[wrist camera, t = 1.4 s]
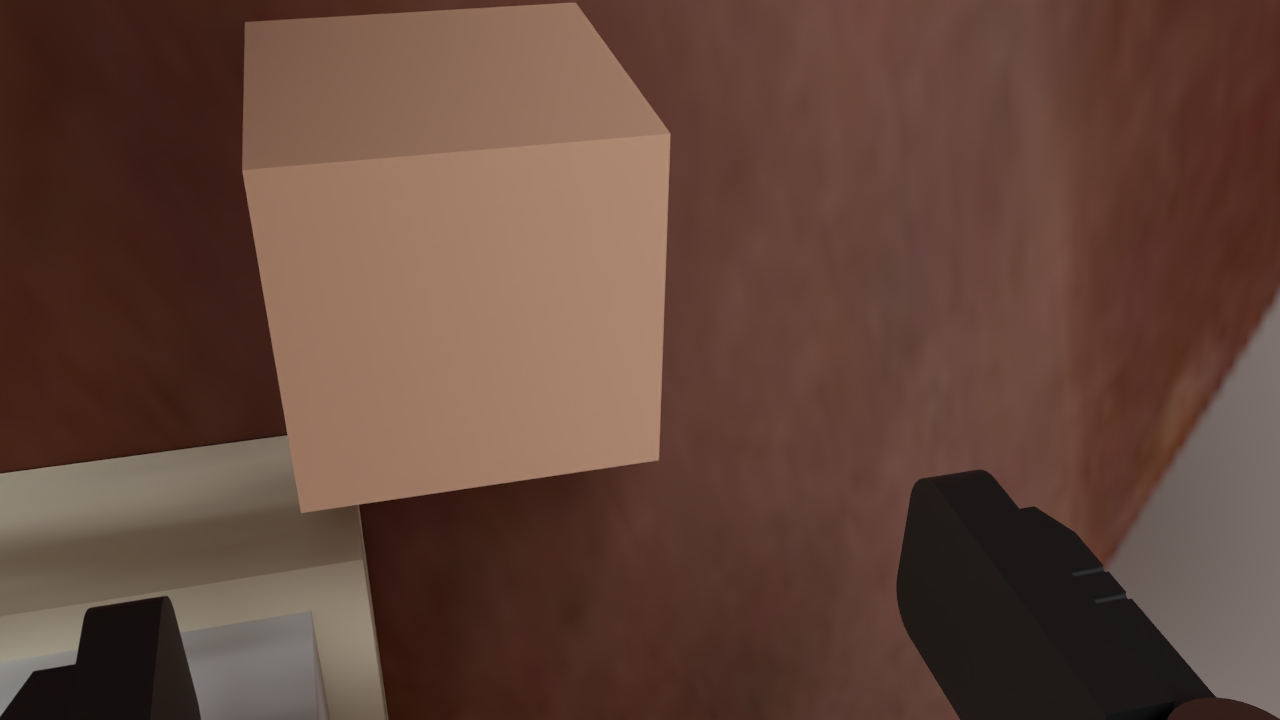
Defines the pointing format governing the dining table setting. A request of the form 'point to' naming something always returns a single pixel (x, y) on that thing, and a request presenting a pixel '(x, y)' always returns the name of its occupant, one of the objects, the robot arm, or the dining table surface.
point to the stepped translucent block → (196, 577)
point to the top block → (455, 248)
